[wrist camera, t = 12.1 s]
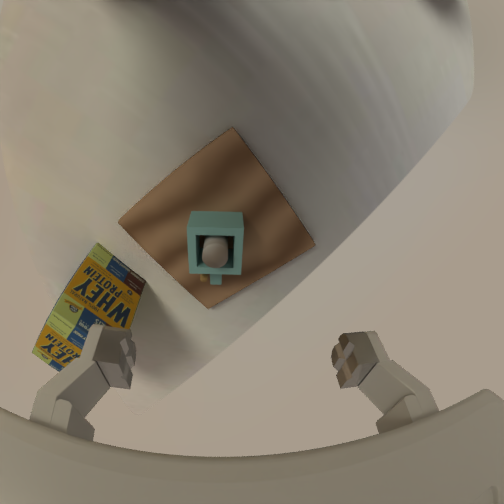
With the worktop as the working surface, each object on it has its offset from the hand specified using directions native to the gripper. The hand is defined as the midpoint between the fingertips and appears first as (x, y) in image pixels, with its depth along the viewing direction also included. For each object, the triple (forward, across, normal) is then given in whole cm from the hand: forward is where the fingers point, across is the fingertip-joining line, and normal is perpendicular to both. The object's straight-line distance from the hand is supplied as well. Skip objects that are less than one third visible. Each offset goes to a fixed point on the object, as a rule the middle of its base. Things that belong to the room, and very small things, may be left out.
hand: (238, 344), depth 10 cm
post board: (+27, 0, +10) cm, 29 cm away
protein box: (+28, +20, +23) cm, 41 cm away
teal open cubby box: (+26, 0, +12) cm, 29 cm away
